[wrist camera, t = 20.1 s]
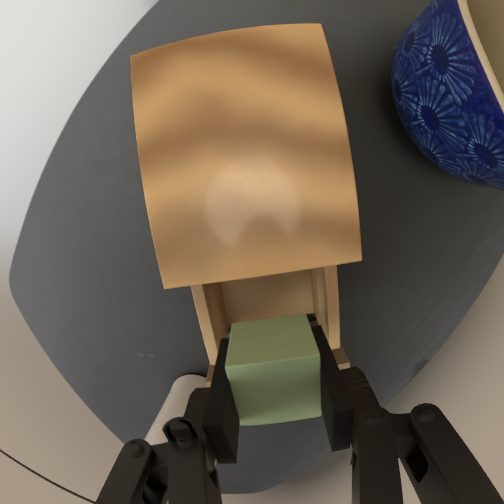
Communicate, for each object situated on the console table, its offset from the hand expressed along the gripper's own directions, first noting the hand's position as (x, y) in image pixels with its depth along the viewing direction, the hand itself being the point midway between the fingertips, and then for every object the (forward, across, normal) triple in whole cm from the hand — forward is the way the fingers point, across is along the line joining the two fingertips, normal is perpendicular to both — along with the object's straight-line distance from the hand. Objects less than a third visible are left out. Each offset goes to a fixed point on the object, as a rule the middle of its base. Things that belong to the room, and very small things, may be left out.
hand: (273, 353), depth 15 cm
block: (0, 0, 0) cm, 0 cm away
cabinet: (+11, 0, +11) cm, 16 cm away
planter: (+11, +20, +15) cm, 28 cm away
